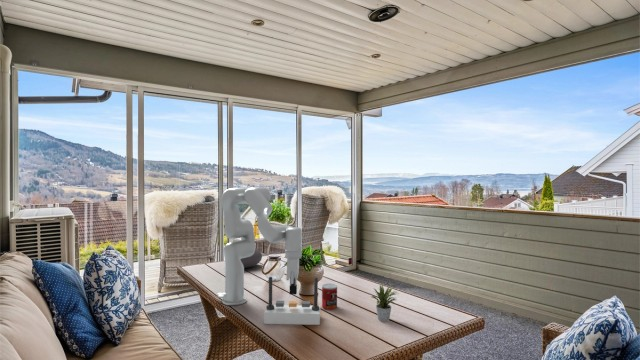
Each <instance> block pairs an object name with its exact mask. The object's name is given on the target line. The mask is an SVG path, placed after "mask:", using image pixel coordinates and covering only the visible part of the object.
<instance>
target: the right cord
mask: <svg viewBox="0 0 640 360" xmlns="http://www.w3.org/2000/svg"><path fill="white" fill-rule="evenodd" d="M318 283H319V279H318V277H314V278H313V305H311V306H312V310H313V311H319V310H320V311H321V306H320V305H318V300H319V299H318V297H319V295H318V290H319V288H318V286H319V284H318ZM319 306H320V307H319Z"/></svg>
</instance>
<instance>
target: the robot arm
mask: <svg viewBox="0 0 640 360" xmlns="http://www.w3.org/2000/svg"><path fill="white" fill-rule="evenodd" d="M271 198H272V194H271V192H270V190H269V189H268V188H267V187H265V186H263V187H262V186H261V187H260V186H259V187H257V186H256V187H252V186H251V187H230V188H228V189H226V190H224V191H223V192H222V194H221V200H220V202H221V207H222V208H221V209H222V212H223V222H224V233H225V234H224V235H225V236H226V238H227V239H229V240H233V239H234V240H235V239H241V240H235V241H231V242H228V243H226V244H225V245H224V247H223V249H222V250H223V258H224V262H225V263H224V264H225V265H224V269H225V270H224V271H225V272H224V273H225V278H224V279H225V281H224V282H225V287H224V288H225V289H224V291H225V292H223V293H222V292H218V293H217V295H216V296H217V298H218V299H221V303H222V304H223V305H226V306H239V305H242V304H245V303H247V301H248V299H247V297H246V296H245V293H244V292H245V277H244V276H245V268H244V266H243V264H242V262H241V259H242V258H246V257H249V256H252V255H253V254H254V252H255V248H256V241H255V240H256V239H255V229H254V225H253V223H252V221H250V220H248V219H241V211H240V209H239V207H238V206H237V205H241V204H247V205H248V207H250V208H251V210H252V212H253V213H254V214H255V215H256V217H257V222H256V223H257V230H258V231H259V233H260V234H261V236H262V237H263V238H264V239H265V240H266V241H267V242H269V243H270V244H277V243H281V242H285V245H284V246H285V250H284V251H285V252H284V253H285V254H284V256H285V257H284V258H285V259H286V260H287V261H286V275H285V276H286V280H285V281H289V295H297V293H298V292H297V290H298V287H297V286H298V285H297V280H298V278H299V271H300V259H302V255H303V254H302V252H303V251H302V247H303V243H302V240H303V232H302V231H303V230H302V228H301V227H298V226H291V225H289V224H283V225H276V226H273V225H272V224H271V223H270V221H269V220H268V217H269V216H270V215H271V214H272V212H273V206H272V204H270V201H271Z"/></svg>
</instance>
